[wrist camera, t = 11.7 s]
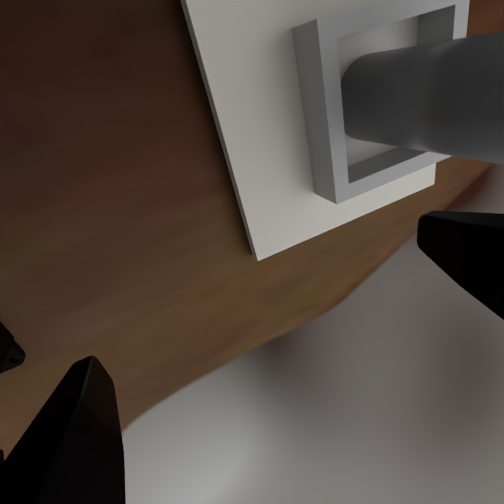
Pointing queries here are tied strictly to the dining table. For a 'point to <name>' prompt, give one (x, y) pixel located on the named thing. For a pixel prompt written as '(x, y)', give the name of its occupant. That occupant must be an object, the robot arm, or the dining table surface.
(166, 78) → the dining table surface
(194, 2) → the socket plate
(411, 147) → the grey can
